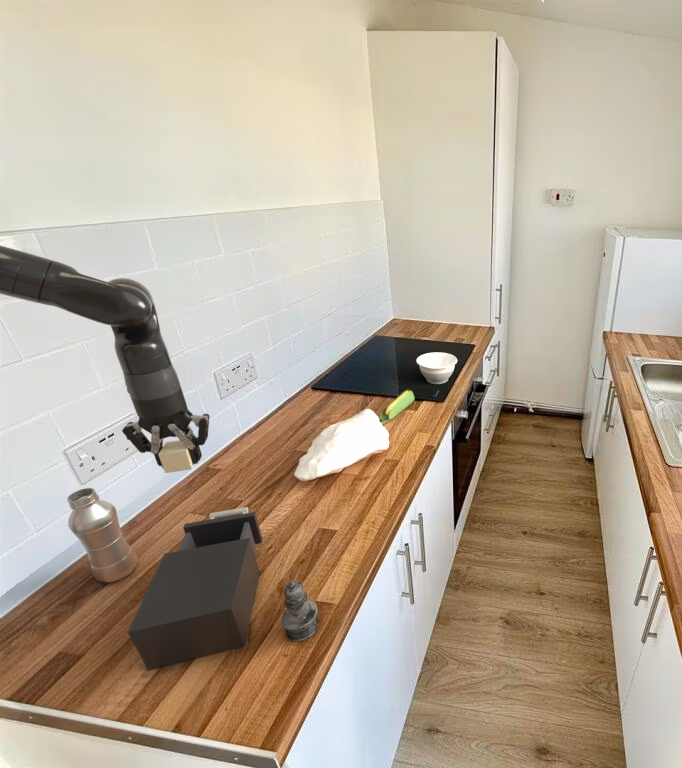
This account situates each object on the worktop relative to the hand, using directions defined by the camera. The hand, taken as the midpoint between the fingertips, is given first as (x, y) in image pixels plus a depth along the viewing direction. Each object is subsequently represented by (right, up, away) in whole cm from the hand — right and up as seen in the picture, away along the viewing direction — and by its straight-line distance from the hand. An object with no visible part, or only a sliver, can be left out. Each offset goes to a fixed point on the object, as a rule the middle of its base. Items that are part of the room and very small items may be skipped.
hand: (181, 463), depth 88 cm
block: (0, 0, 0) cm, 0 cm away
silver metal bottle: (-11, -22, -1) cm, 25 cm away
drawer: (+8, -21, +1) cm, 22 cm away
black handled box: (+12, -26, -9) cm, 30 cm away
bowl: (+37, +18, +86) cm, 95 cm away
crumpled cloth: (+20, -5, +37) cm, 42 cm away
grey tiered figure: (+29, -28, -10) cm, 42 cm away
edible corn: (+28, +7, +61) cm, 67 cm away
